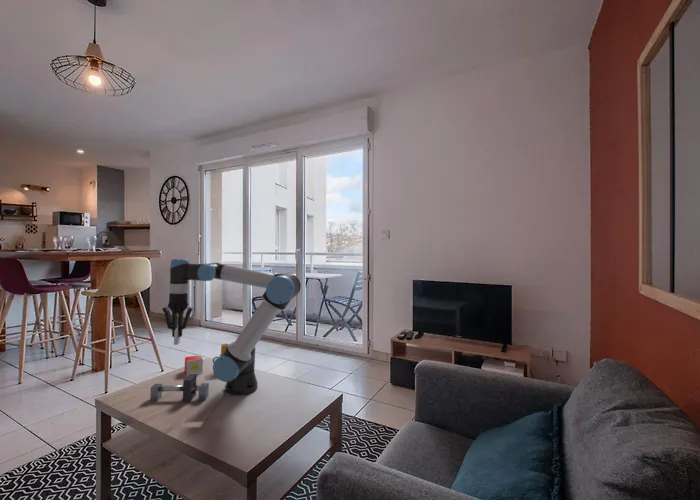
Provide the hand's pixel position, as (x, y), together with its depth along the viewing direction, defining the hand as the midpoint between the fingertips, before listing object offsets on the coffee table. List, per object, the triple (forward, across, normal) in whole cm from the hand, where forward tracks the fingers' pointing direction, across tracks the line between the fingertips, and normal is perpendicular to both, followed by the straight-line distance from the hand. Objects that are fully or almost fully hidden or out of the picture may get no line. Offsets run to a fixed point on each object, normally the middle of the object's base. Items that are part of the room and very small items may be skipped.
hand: (176, 343), depth 150 cm
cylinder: (+25, -14, -31) cm, 42 cm away
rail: (+24, -4, +5) cm, 25 cm away
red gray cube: (+25, +2, -30) cm, 39 cm away
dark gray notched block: (+23, -8, +5) cm, 25 cm away
